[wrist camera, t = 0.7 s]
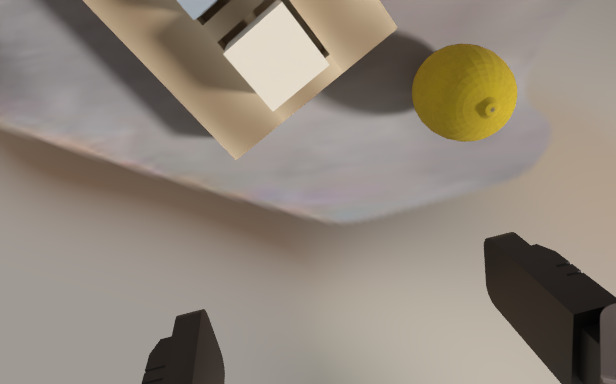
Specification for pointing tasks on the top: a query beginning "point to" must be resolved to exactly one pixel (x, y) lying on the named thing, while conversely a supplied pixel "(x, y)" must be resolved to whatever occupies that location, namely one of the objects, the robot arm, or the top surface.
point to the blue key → (196, 6)
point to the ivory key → (275, 55)
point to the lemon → (464, 92)
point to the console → (216, 67)
